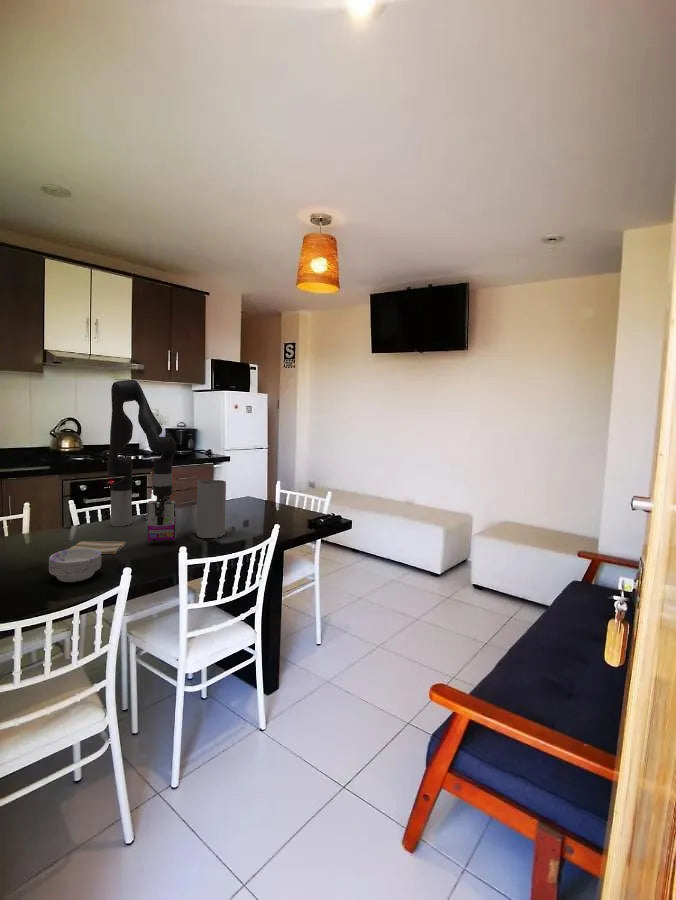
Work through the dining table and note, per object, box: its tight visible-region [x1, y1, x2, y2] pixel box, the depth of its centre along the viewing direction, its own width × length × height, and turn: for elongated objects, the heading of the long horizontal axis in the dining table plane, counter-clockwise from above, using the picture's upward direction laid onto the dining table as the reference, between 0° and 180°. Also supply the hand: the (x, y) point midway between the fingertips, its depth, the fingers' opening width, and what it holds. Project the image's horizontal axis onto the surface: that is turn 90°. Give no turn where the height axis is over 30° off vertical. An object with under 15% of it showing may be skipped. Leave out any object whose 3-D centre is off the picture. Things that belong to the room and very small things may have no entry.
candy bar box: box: [146, 500, 177, 542], centre depth 190 cm, size 11×5×16 cm, turn 106°
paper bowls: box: [48, 548, 102, 583], centre depth 150 cm, size 15×15×8 cm
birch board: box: [67, 540, 128, 555], centre depth 180 cm, size 14×18×1 cm
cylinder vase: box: [196, 479, 227, 539], centre depth 205 cm, size 12×12×25 cm
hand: (162, 523), depth 190 cm, fingers closed on candy bar box, 5 cm apart
